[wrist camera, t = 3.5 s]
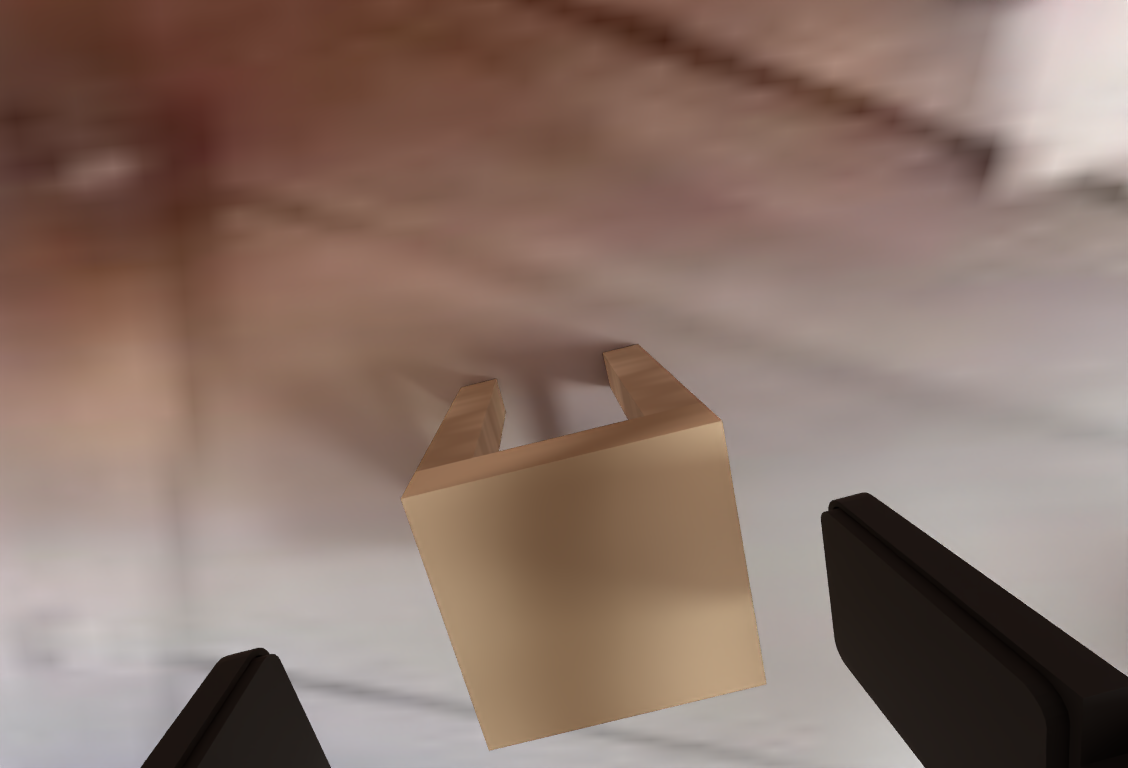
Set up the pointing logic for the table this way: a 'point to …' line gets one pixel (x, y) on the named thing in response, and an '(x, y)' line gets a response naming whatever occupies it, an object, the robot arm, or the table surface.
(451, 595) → the stool
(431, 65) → the table surface
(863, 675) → the robot arm
